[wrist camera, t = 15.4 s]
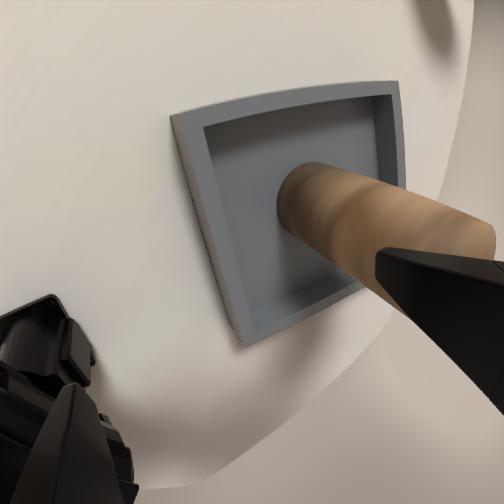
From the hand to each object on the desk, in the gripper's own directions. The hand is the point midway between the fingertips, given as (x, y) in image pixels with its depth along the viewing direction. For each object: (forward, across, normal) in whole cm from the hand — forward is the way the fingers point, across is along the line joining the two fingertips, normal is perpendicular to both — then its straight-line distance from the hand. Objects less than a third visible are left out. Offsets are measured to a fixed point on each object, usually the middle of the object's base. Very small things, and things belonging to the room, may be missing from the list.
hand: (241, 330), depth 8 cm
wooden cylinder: (+12, -10, +3) cm, 16 cm away
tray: (+13, -10, +3) cm, 17 cm away
